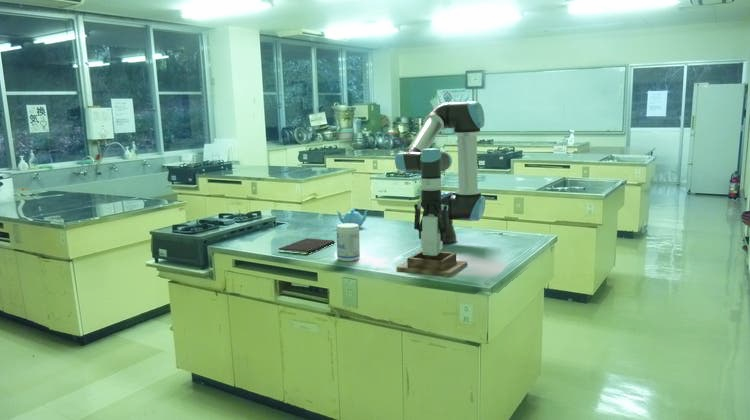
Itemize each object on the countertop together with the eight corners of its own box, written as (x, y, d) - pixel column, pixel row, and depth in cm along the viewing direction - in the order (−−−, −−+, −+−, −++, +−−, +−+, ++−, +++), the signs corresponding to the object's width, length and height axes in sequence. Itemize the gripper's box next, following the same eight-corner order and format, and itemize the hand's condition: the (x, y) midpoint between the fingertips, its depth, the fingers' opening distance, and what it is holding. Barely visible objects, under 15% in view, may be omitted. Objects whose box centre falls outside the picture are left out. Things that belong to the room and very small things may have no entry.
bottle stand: (396, 270, 209) (396, 258, 208) (416, 259, 224) (416, 248, 224) (449, 277, 198) (449, 264, 197) (467, 265, 213) (467, 253, 213)
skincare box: (436, 256, 205) (437, 217, 203) (421, 255, 207) (421, 217, 205) (441, 251, 213) (441, 214, 211) (426, 250, 215) (426, 213, 213)
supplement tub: (332, 259, 229) (331, 225, 226) (348, 255, 236) (346, 222, 233) (349, 263, 222) (348, 228, 220) (364, 258, 230) (363, 224, 227)
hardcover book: (278, 253, 246) (278, 248, 245) (307, 242, 266) (306, 238, 266) (307, 256, 238) (307, 251, 238) (335, 245, 259) (334, 240, 258)
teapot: (369, 227, 296) (369, 209, 295) (351, 231, 288) (350, 212, 286) (354, 224, 306) (353, 207, 304) (336, 228, 297) (335, 210, 295)
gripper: (403, 189, 208) (405, 248, 211) (451, 191, 198) (451, 252, 202) (412, 187, 214) (413, 244, 218) (458, 188, 205) (459, 248, 208)
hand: (431, 248), depth 210 cm, fingers closed on skincare box, 6 cm apart
